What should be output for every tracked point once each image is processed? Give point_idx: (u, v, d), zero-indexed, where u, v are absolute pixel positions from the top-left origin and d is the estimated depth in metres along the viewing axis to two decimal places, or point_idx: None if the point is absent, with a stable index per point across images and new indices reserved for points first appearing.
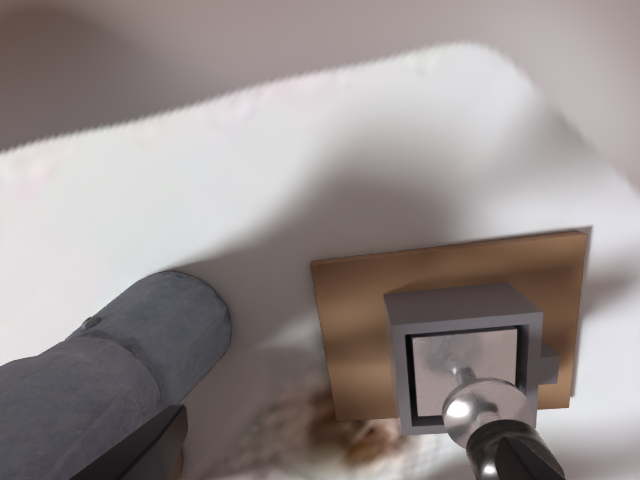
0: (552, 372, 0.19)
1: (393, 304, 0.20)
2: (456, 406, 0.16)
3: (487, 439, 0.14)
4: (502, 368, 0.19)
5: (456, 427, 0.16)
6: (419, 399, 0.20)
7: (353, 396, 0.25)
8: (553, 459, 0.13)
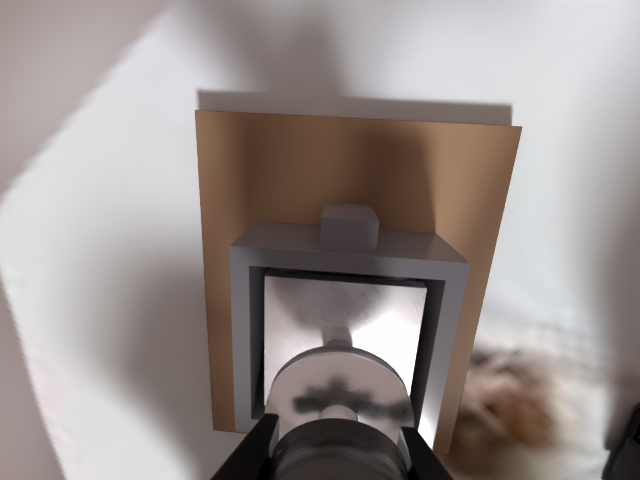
0: (353, 229, 0.11)
1: None
2: None
3: None
4: (334, 299, 0.12)
5: None
6: None
7: None
8: None
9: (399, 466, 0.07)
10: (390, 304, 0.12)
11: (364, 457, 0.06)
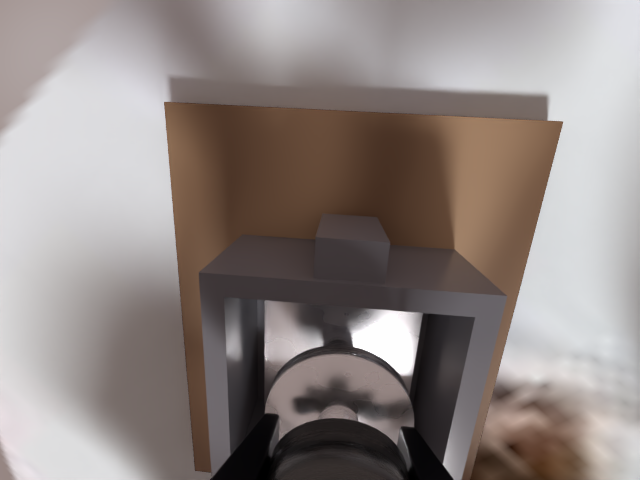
0: (356, 251, 0.08)
1: None
2: None
3: None
4: None
5: None
6: None
7: None
8: None
9: (399, 466, 0.07)
10: None
11: (365, 458, 0.06)
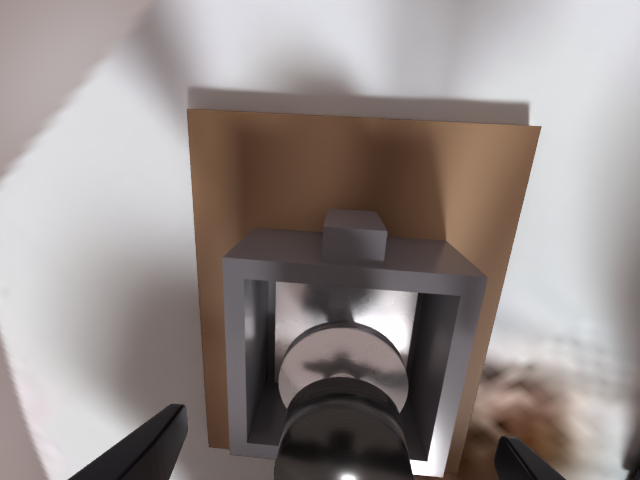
0: (358, 239, 0.10)
1: None
2: None
3: None
4: None
5: None
6: None
7: None
8: (297, 434, 0.07)
9: (394, 415, 0.08)
10: None
11: (365, 404, 0.08)
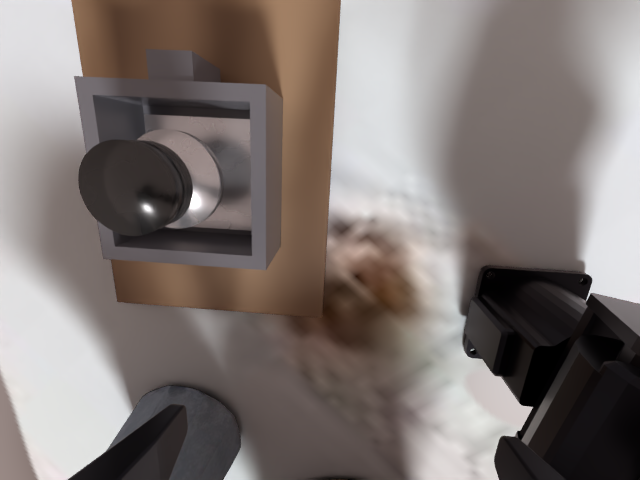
0: (172, 58, 0.13)
1: None
2: None
3: None
4: (193, 131, 0.16)
5: (181, 217, 0.14)
6: (234, 226, 0.18)
7: (286, 292, 0.20)
8: (89, 152, 0.11)
9: (173, 158, 0.12)
10: (233, 134, 0.16)
11: (145, 142, 0.11)
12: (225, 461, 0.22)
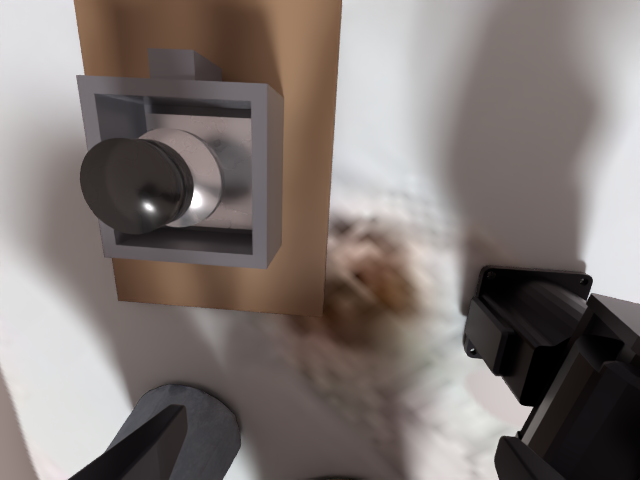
0: (174, 57, 0.13)
1: None
2: None
3: None
4: (195, 130, 0.16)
5: (182, 215, 0.14)
6: (235, 225, 0.18)
7: (286, 291, 0.20)
8: (91, 150, 0.11)
9: (174, 157, 0.12)
10: (234, 133, 0.16)
11: (146, 141, 0.11)
12: (225, 460, 0.22)
